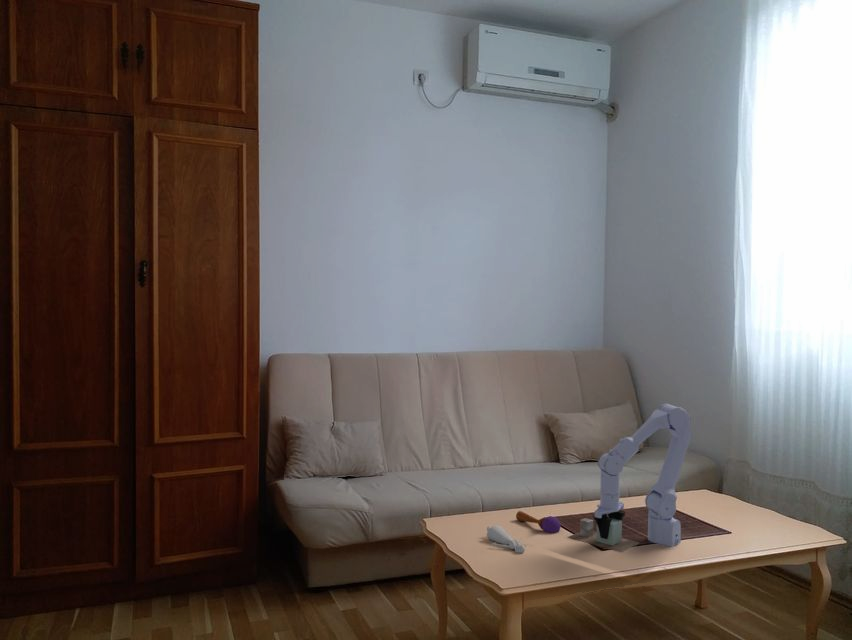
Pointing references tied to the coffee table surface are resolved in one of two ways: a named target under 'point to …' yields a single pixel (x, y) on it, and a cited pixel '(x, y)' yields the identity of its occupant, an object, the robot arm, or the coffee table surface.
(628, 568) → the coffee table surface
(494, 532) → the woman figurine
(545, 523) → the purple and brown maraca
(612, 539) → the frosted mint cube
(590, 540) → the board
